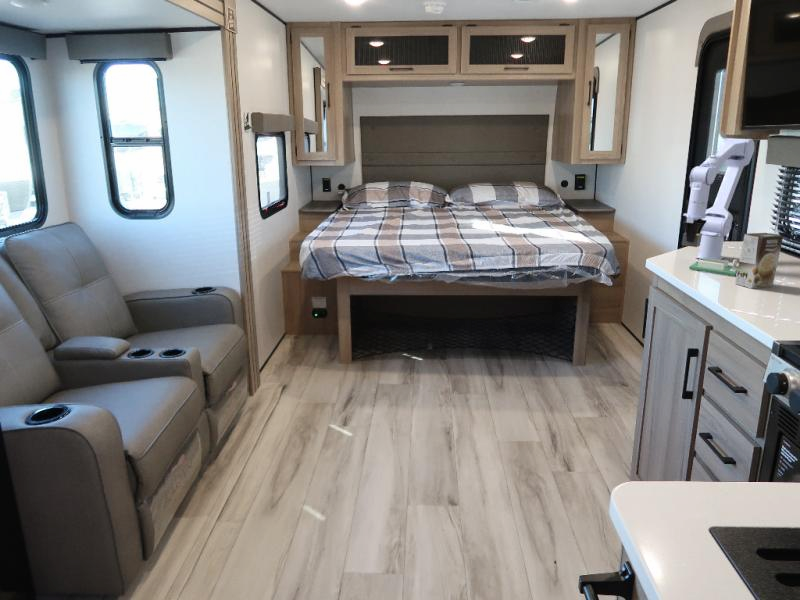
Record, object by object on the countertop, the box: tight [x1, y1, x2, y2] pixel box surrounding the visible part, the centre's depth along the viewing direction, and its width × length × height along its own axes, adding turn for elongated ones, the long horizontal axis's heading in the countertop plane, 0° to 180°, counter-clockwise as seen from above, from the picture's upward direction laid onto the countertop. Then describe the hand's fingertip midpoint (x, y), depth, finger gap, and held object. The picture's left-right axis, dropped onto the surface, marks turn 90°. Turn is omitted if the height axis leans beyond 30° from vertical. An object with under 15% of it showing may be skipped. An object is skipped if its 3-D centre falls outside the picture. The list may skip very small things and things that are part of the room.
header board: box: [688, 257, 738, 277], centre depth 209 cm, size 12×14×4 cm
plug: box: [681, 232, 702, 248], centre depth 215 cm, size 4×5×4 cm
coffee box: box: [734, 232, 784, 289], centre depth 189 cm, size 9×6×16 cm
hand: (691, 240), depth 215 cm, fingers closed on plug, 4 cm apart
